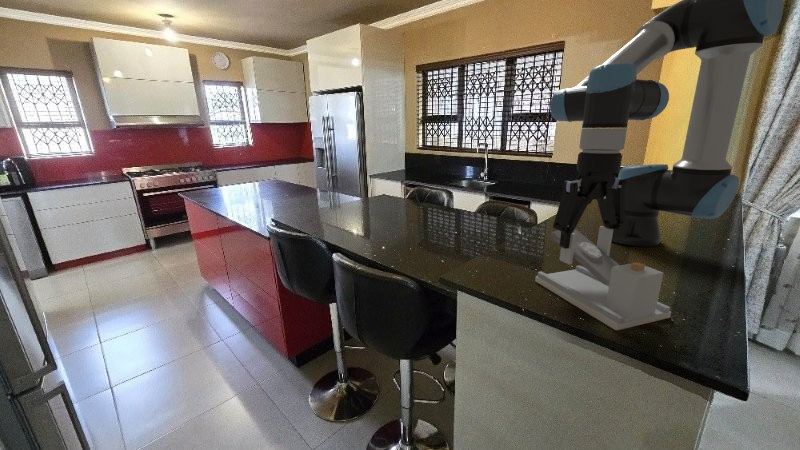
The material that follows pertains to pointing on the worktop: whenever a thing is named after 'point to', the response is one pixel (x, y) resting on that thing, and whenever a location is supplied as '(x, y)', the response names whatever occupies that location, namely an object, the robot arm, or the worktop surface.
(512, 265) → the worktop surface
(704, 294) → the worktop surface
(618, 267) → the rail board
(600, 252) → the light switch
